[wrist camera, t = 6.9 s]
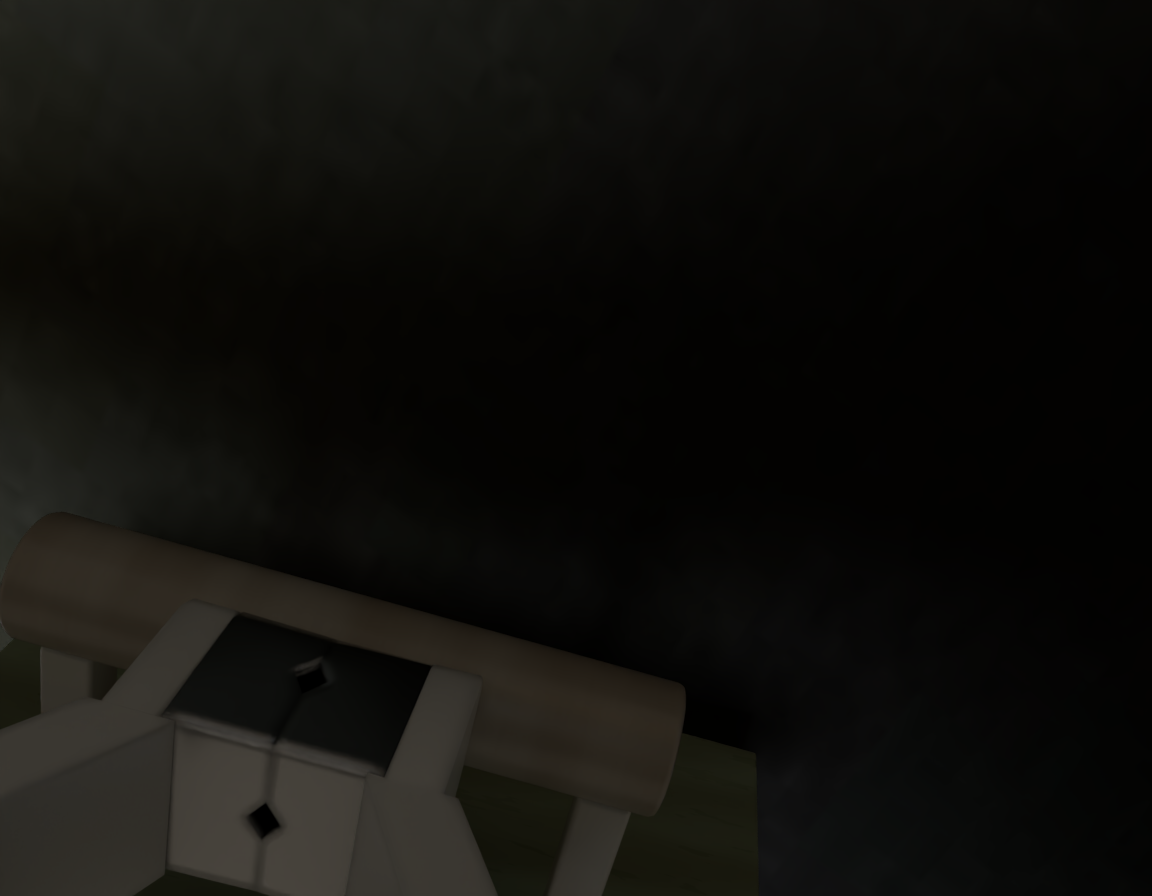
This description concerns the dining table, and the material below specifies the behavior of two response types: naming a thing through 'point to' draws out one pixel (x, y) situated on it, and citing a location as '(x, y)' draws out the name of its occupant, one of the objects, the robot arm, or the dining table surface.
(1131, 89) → the dining table surface
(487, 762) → the drawer
